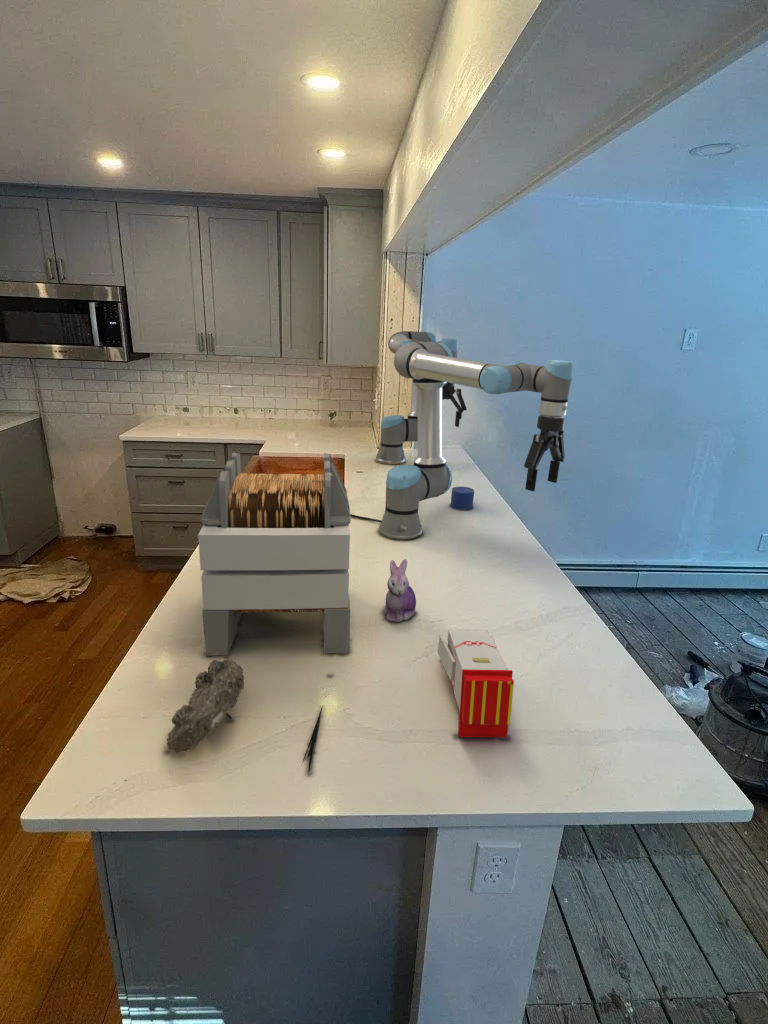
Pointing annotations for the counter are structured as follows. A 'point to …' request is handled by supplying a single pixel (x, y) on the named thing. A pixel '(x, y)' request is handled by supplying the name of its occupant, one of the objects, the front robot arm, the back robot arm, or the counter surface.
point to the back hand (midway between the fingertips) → (442, 426)
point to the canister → (462, 498)
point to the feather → (313, 740)
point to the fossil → (206, 705)
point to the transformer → (275, 551)
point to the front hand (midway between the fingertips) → (541, 485)
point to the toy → (478, 682)
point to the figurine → (399, 594)
